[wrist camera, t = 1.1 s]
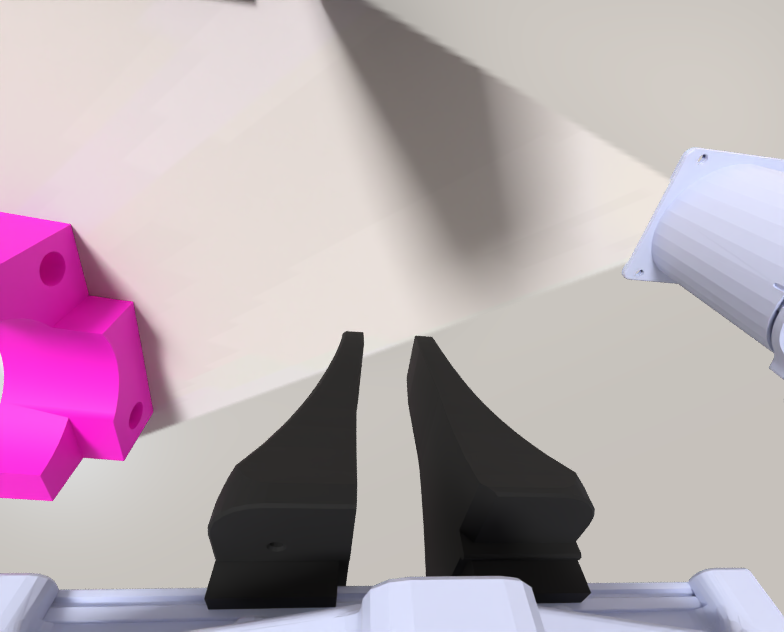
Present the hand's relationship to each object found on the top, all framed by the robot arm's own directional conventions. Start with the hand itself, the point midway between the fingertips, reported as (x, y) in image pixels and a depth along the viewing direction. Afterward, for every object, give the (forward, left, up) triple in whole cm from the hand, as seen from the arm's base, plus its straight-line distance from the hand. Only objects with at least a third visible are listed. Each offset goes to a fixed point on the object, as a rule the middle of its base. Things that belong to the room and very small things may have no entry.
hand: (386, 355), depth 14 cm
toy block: (+18, +8, -11) cm, 23 cm away
